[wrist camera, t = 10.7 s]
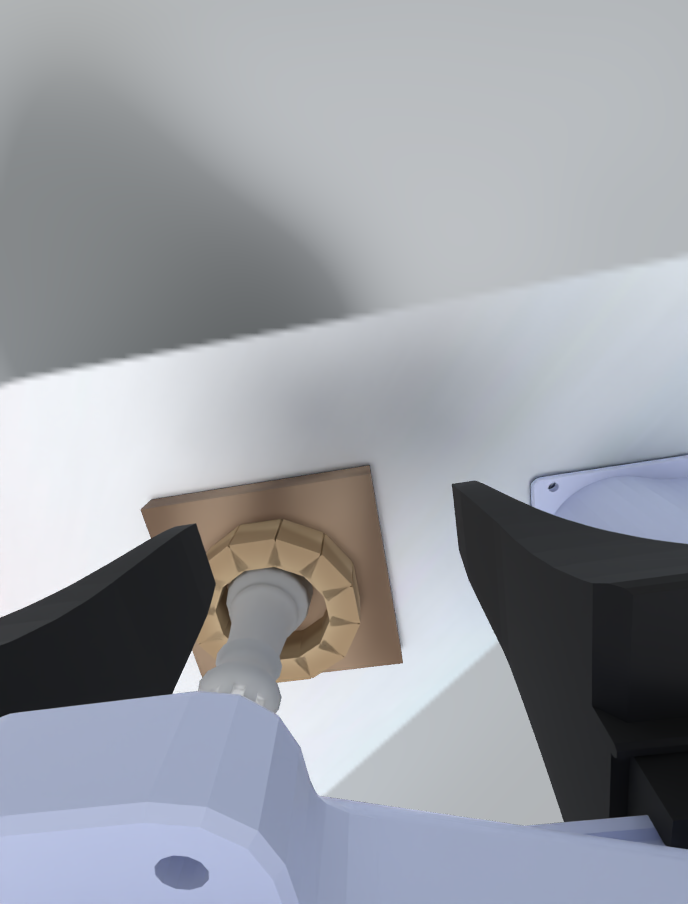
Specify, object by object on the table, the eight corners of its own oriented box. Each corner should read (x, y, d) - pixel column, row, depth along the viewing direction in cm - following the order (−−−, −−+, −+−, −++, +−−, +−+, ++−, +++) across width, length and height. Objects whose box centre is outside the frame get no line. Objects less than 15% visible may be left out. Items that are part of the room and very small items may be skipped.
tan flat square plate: (369, 465, 22) (371, 490, 19) (400, 647, 26) (406, 692, 23) (151, 499, 23) (120, 528, 20) (211, 670, 27) (193, 716, 24)
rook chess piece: (314, 619, 24) (293, 763, 16) (234, 616, 24) (178, 758, 17) (314, 550, 23) (292, 674, 15) (229, 546, 23) (165, 668, 15)
